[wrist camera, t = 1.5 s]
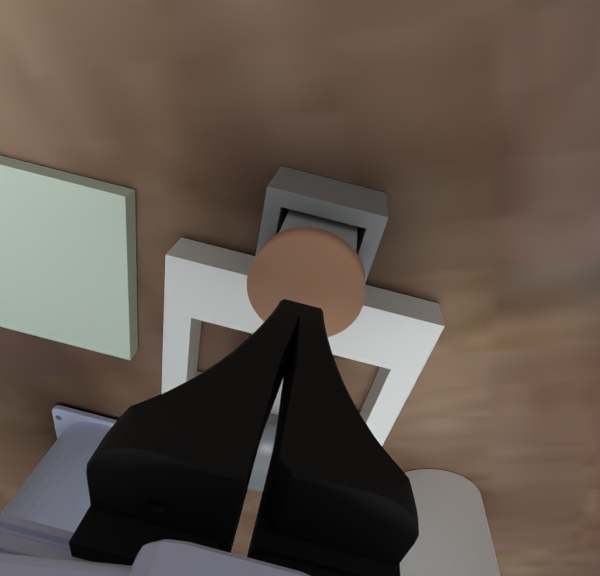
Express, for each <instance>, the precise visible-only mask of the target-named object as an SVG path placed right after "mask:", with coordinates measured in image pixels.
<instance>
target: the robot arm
mask: <svg viewBox="0 0 600 576" xmlns="http://www.w3.org/2000/svg"><path fill="white" fill-rule="evenodd" d="M282 380H283V384H282V391H281V398H280V405H279V413H278V420H277V427H276V434H275V440H274V446H273V451H272V455H271V459H270V464H269V468H268V472H267V476H266V480H265V484H264V489H263V493H262V497H261V501H260V505H259V510H258V514H257V518H256V522H255V526H254V530H253V534H252V539H251V543H250V547H249V551H248V555H247V557H244V556H240V555H237V554H233V553H231V549H232V546H233V542H234V538H235V534H236V530H237V527H238V523H239V519H240V515H241V511H242V508H243V504H244V500H245V496H246V492H247V489H248V485H249V481H250V477H251V474H252V470H253V466H254V462H255V458H256V455H257V451H258V447H259V444H260V441H261V438H262V435H263V432H264V429H265V426H266V424H267V421H268V418H269V415H270V413H271V410H272V407H273V405H274V402H275V399H276V396H277V394H278V391H279V388H280V385H281V383H282ZM52 415H53V420H54V425H55V430H56V435H57V440H56V442H55V443H54V444H53V446H52V447H51V448H50V449H49V451H48V452H47V453H46V455H45V456H44V457H43V459H42V460H41V461H40V462H39V464H38V465H37V466H36V468H35V469H34V470H33V472H32V473H31V474H30V475H29V477H28V478H27V479H26V481H25V482H24V483H23V485H22V486H21V487H20V488H19V490H18V491H17V492H16V494H15V495H14V496H13V498H12V499H11V500H10V501H9V503H8V504H7V505H6V507H5V508H4V509H3V511H2V512H1V513H0V576H400V562H401V561H402V559H403V558H404V557H405V556H406V554H407V553H408V552H409V550H410V549H411V548H412V546H413V545H414V544H415V542H416V540H417V538H418V536H419V524H418V514H417V508H416V504H415V499H414V495H413V491H412V487H411V483H410V480H409V478H408V477H407V476H406V474H405V473H404V472H403V471H402V470H401V469H400V467H399V466H398V465H397V464H396V463H395V462H394V461H393V459H392V458H391V457H390V456H389V455H388V454H387V452H386V451H385V450H384V449H383V447H382V446H381V445H380V443H379V442H378V441H377V439H376V438H375V437H374V435H373V434H372V432H371V430H370V429H369V427H368V426H367V424H366V423H365V421H364V420H363V418H362V417H361V415H360V413H359V412H358V410H357V408H356V406H355V404H354V403H353V401H352V399H351V397H350V395H349V393H348V391H347V389H346V387H345V385H344V383H343V380H342V378H341V376H340V373H339V371H338V368H337V366H336V363H335V360H334V357H333V354H332V351H331V347H330V344H329V341H328V337H327V333H326V328H325V323H324V315H323V311H322V309H321V308H318V307H314V306H310V305H306V304H302V303H298V302H294V301H290V300H287V299H283V300H281V301H280V302H279V304H278V305H277V307H276V308H275V310H274V311H273V312H272V314H271V315H270V316H269V317H268V318H267V320H266V321H265V322H264V323H263V324H262V325H261V326H260V327H259V328H258V329H257V330H256V331H255V332H254V333H253V334H252V335H251V336H250V337H249V338H248V339H247V340H246V341H244V342H243V343H242V344H241V345H240V346H239V347H238V348H236V349H235V350H234V351H233V352H232V353H230V354H229V355H228V356H226V357H225V358H224V359H222V360H221V361H219V362H218V363H217V364H215V365H214V366H212V367H210V368H209V369H207V370H206V371H204V372H203V373H201V374H199V375H198V376H196V377H194V378H193V379H191V380H189V381H187V382H185V383H183V384H181V385H179V386H177V387H175V388H173V389H171V390H169V391H167V392H165V393H163V394H161V395H158V396H156V397H153V398H151V399H148V400H146V401H143V402H141V403H139V404H136V405H133V406H130V407H129V408H128V409H127V410H126V411H125V413H124V414H123V415H122V416H121V417H120V418H119V419H118V420H115V419H111V418H107V417H103V416H99V415H95V414H92V413H88V412H84V411H80V410H76V409H72V408H69V407H65V406H61V405H56V406H55V407H54V408H53V409H52Z"/></svg>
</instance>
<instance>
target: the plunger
mask: <svg viewBox="0 0 600 576" xmlns="http://www.w3.org/2000/svg"><path fill="white" fill-rule="evenodd" d="M357 230H358V226H354V225H350V224H346V223H342V222H338V221H334V220H330V219H326V218H322V217H319V216H315V215H311V214H307V213H303V212H299V211H295V210H291V209H289V211H288V214H287V216H286V218H285V220H284V222H283V225H282V227H281V229H280V231H279V233H277V234H275V235H274V236H272V237H271V238H270V239H268V240H267V241H266V242H265V243H264V244H263V246H262V247H261V248H260V250H259V251H258V253H257V255H256V257H255V259H254V261H253V263H252V265H251V267H250V270H249V272H248V276H247V293H248V298H249V300H250V303H251V305H252V307H253V309H254V311H255V312H256V313H257V315H258V316H259V317H260V318H261V319H262V320H263V321H264V322H265V321H266V320H267V318H268V317H269V316H270V315H271V314H272V312H273V311H274V310H275V308H276V307H277V305H278V304H279V302H280V301H281V300H283V299H287V300H290V301H294V302H298V303H302V304H306V305H310V306H314V307H318V308H321V309H322V311H323V315H324V323H325V328H326V333H327V337H330V336H333V335H336V334H338V333H340V332H342V331H343V330H345V329H346V328H348V327H349V326H350V325H351V324H352V323H353V322H354V321H355V320H356V318H357V317H358V315H359V314H360V312H361V310H362V307H363V304H364V298H365V273H364V267H363V265H362V262H361V260H360V258H359V256H358V254H357V253H356V248H357Z"/></svg>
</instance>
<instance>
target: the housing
mask: <svg viewBox="0 0 600 576" xmlns="http://www.w3.org/2000/svg"><path fill="white" fill-rule="evenodd" d="M287 209H291V210H295V211H299V212H303V213H307V214H311V215H315V216H319V217H322V218H326V219H330V220H334V221H338V222H342V223H346V224H350V225H354V226H358V227H359V229H358V232H357V248H356V253H357V254H358V256H359V258H360V260H361V262H362V265H363V267H364V273H365V283H366V280H367V277H368V274H369V271H370V269H371V266H372V263H373V260H374V257H375V255H376V252H377V249H378V246H379V243H380V241H381V238H382V235H383V232H384V229H385V227H386V224H387V221H388V218H389V215H388V206H387V197H386V193H385V192H381V191H377V190H374V189H370V188H366V187H362V186H358V185H354V184H350V183H346V182H342V181H338V180H334V179H330V178H326V177H322V176H319V175H315V174H311V173H307V172H303V171H299V170H295V169H291V168H287V167H283V166H280V168H279V169H278V171H277V172H276V174H275V175H274V177H273V178H272V180H271V181H270V183H269V184H268V186H267V190H266V196H265V202H264V208H263V214H262V220H261V225H260V231H259V237H258V243H257V249H256V255H257V253H258V251H259V250H260V248H261V247H262V246H263V244H264V243H265V242H266V241H267V240H268V239H270V238H271V237H272V236H274V235H275V234H277V233H279V231H280V229H281V227H282V225H283V222H284V220H285V218H286V214H287ZM256 255H255V256H252V255H248V254H244V253H241V252H237V251H233V250H229V249H225V248H221V247H217V246H213V245H209V244H205V243H202V242H198V241H194V240H190V239H186V238H182V237H181V238H180V239H179V241H178V242H177V243H176V244H175V245H174V246H173V247H172V248H171V249H170V250H169V251H168V252H167V254H166V257H165V292H164V326H163V361H162V394H163V393H165V392H167V391H169V390H171V389H173V388H175V387H177V386H179V385H181V384H183V383H185V382H187V381H189V380H191V379H193V378H194V377H196V376H198V375H199V374H201V373H203V372H200V371H197V364H198V354H199V343H200V333H201V322H202V321H205V322H209V323H213V324H217V325H221V326H225V327H228V328H232V329H236V330H240V331H244V332H248V333H252V334H253V333H254V332H255V331H256V330H257V329H258V328H259V327H260V326H261V325H262V324H263V323H264V321H263V320H262V319H261V318H260V317H259V316H258V315H257V313H256V312H255V311H254V309H253V307H252V305H251V303H250V300H249V298H248V293H247V276H248V272H249V270H250V267H251V265H252V263H253V261H254V259H255V257H256ZM444 327H445V326H444V322H443V318H442V314H441V311H440V307H439V303H435V302H431V301H427V300H424V299H420V298H416V297H412V296H408V295H404V294H400V293H396V292H392V291H389V290H385V289H381V288H377V287H373V286H369V285H365V298H364V304H363V307H362V310H361V312H360V314H359V315H358V317H357V318H356V320H355V321H354V322H353V323H352V324H351V325H350V326H349V327H348V328H346V329H345V330H343V331H342V332H340V333H338V334H336V335H333V336H330V337H328V341H329V344H330V347H331V351H332V354H333V355H337V356H341V357H345V358H348V359H352V360H356V361H360V362H364V363H368V364H372V365H376V366H379V367H380V368H379V370H378V372H377V375H376V377H375V379H374V381H373V384H372V386H371V388H370V390H369V393H368V395H367V397H366V400H365V402H364V404H363V406H362V409H361V411H360V415H361V417H362V418H363V420H364V421H365V423H366V424H367V426H368V427H369V429H370V430H371V432H372V434H373V435H374V437H375V438H376V439H377V441H378V442H379V443H380V445H381V446H382V445H383V443H384V441H385V439H386V438H387V436H388V434H389V432H390V430H391V428H392V426H393V424H394V422H395V420H396V418H397V417H398V415H399V413H400V411H401V409H402V407H403V405H404V403H405V401H406V399H407V397H408V395H409V394H410V392H411V390H412V388H413V386H414V384H415V382H416V380H417V378H418V376H419V374H420V372H421V371H422V369H423V367H424V365H425V363H426V361H427V359H428V357H429V355H430V353H431V351H432V350H433V348H434V346H435V344H436V342H437V340H438V338H439V336H440V334H441V332H442V330H443V328H444Z"/></svg>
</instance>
